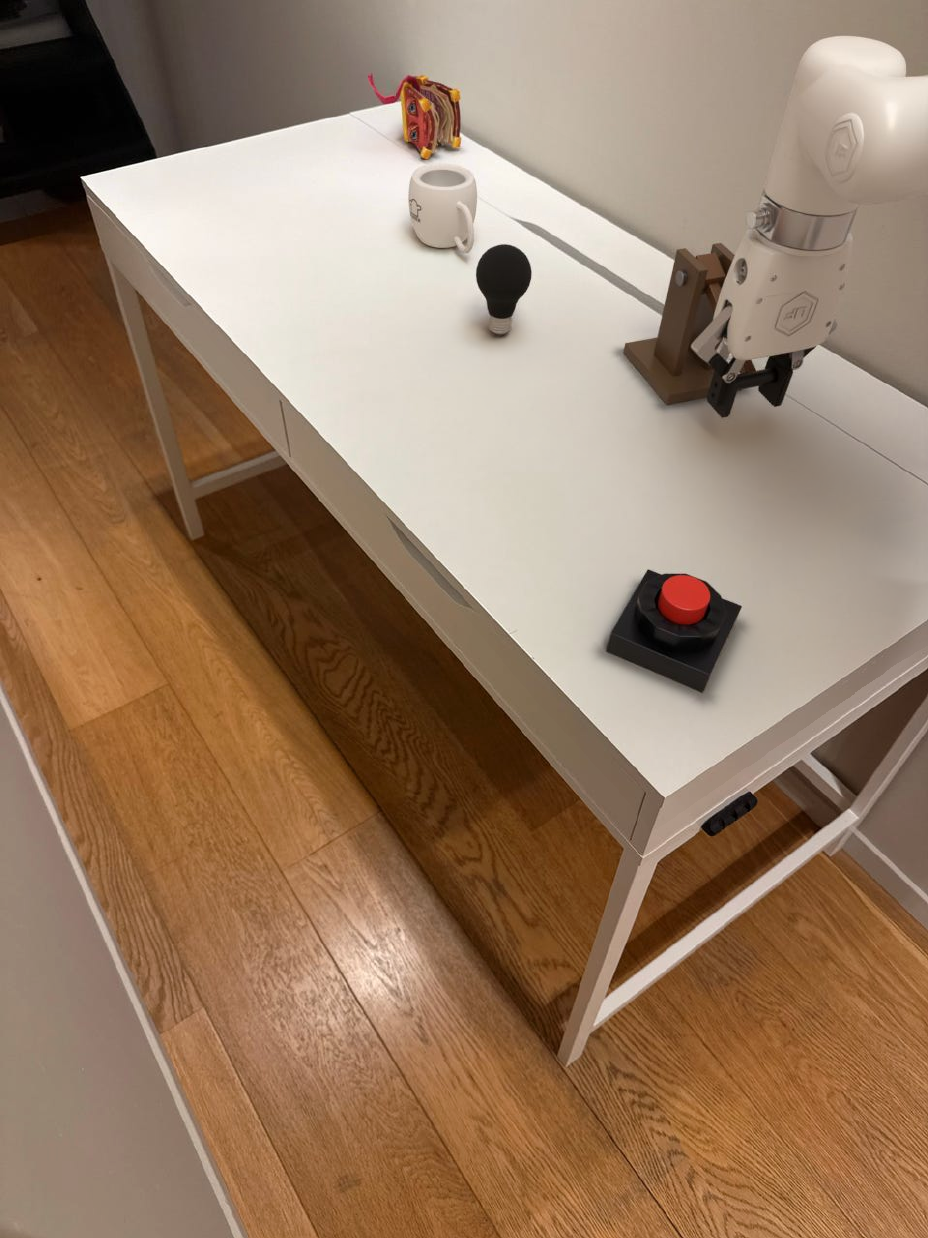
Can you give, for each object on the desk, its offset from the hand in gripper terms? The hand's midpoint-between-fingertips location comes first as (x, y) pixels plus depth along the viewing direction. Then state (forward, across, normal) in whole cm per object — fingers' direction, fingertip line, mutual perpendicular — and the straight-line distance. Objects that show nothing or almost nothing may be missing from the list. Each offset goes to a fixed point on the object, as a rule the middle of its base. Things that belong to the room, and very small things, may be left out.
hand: (743, 402), depth 86 cm
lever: (-4, 0, +6) cm, 7 cm away
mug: (+4, -15, +44) cm, 47 cm away
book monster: (+4, -10, +74) cm, 75 cm away
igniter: (+3, -19, -22) cm, 29 cm away
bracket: (+3, 0, +11) cm, 11 cm away
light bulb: (+4, -16, +23) cm, 29 cm away
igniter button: (0, -19, -22) cm, 29 cm away
